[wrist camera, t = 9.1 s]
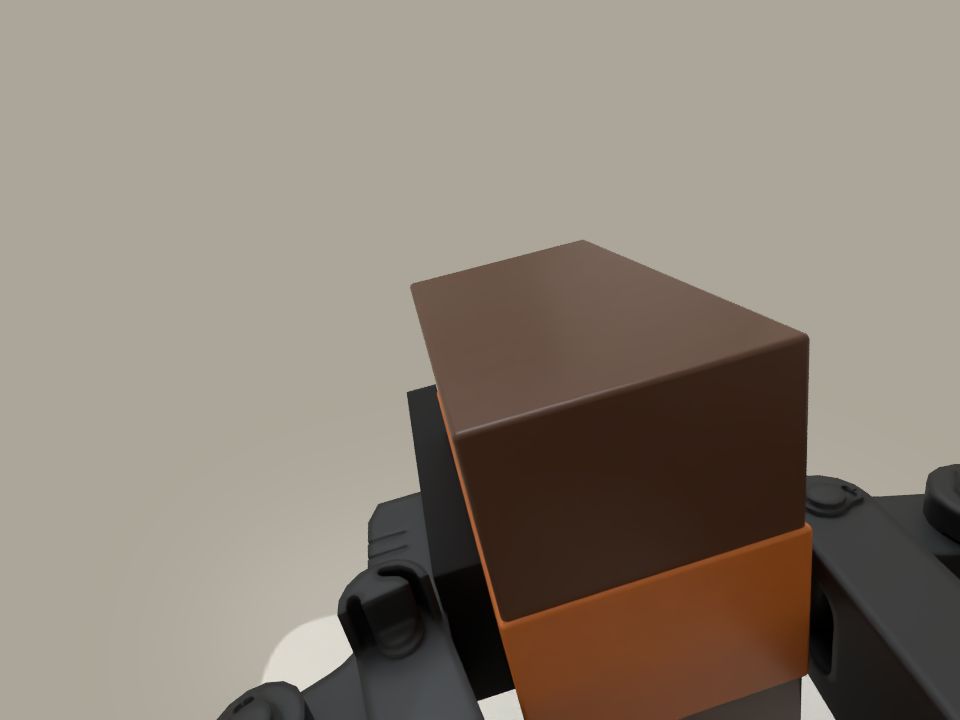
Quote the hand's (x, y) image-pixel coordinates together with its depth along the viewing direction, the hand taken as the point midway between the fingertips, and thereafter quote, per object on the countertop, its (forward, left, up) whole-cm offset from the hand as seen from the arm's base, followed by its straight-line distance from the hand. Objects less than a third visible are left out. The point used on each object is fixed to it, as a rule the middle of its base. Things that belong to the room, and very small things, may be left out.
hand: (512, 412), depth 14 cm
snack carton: (0, +5, -7) cm, 9 cm away
